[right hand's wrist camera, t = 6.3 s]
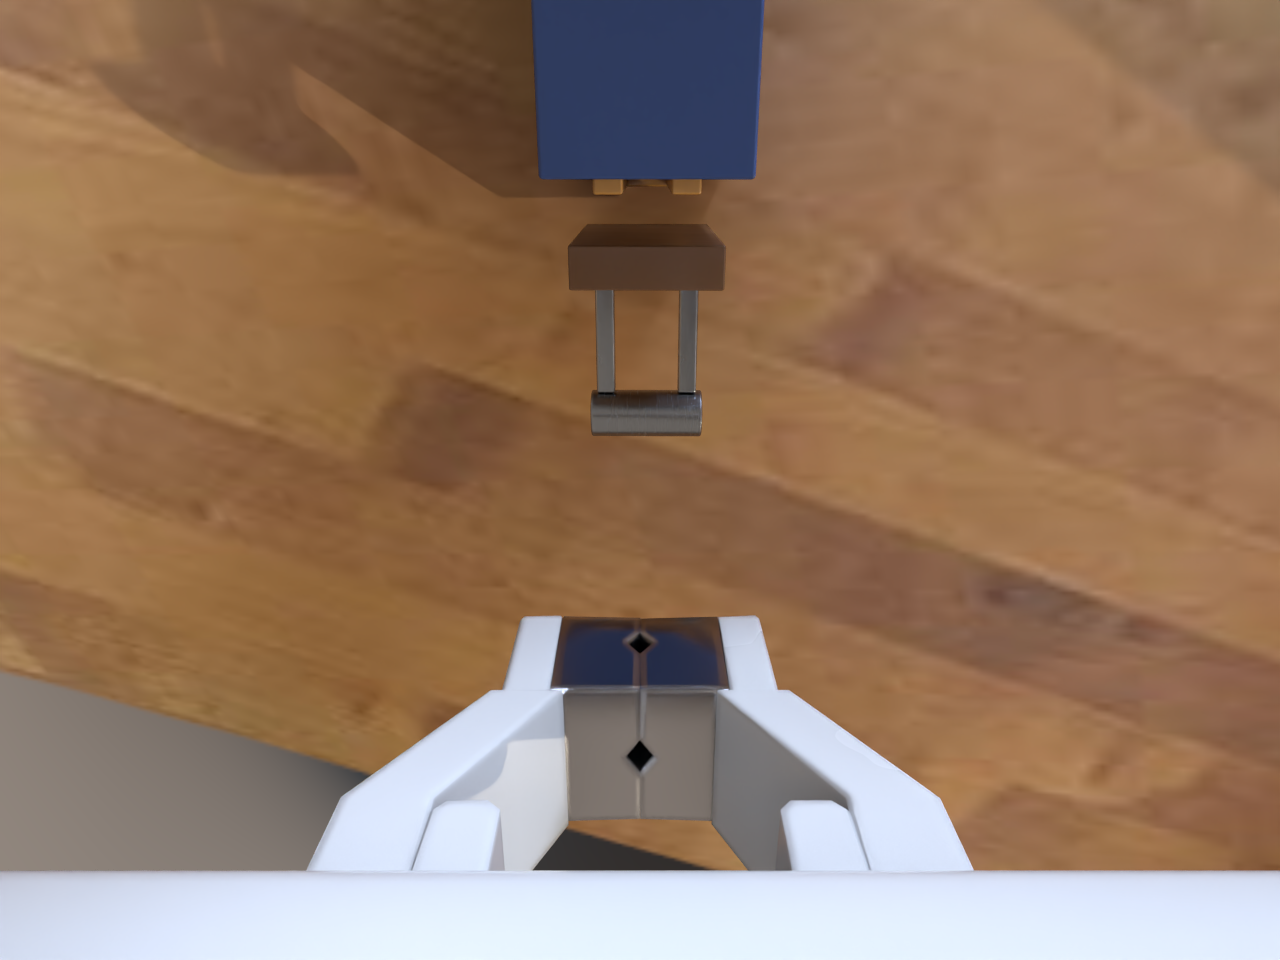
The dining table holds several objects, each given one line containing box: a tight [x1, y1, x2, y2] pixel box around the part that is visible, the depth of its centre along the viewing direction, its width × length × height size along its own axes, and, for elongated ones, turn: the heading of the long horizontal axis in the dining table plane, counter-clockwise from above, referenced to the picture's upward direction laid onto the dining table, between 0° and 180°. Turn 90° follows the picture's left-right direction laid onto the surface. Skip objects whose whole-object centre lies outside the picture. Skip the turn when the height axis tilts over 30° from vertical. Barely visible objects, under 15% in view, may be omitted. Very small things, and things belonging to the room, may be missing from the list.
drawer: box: [568, 179, 726, 436], centre depth 23 cm, size 24×4×7 cm, turn 0°
